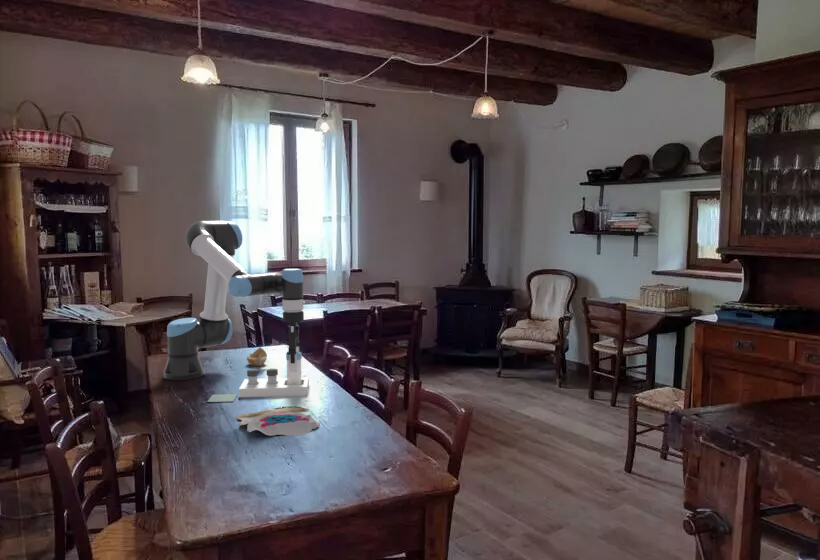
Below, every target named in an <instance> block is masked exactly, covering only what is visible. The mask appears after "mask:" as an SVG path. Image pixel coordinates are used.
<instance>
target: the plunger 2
mask: <svg viewBox="0 0 820 560" xmlns="http://www.w3.org/2000/svg"><path fill="white" fill-rule="evenodd" d="M278 371H279V370H278V368H269V369H266V376H267V378H268V385H269V384H277V378H278V377H277V376H278Z"/></svg>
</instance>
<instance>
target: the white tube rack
mask: <svg viewBox="0 0 820 560" xmlns="http://www.w3.org/2000/svg"><path fill="white" fill-rule="evenodd" d="M309 387H310V377H308V376H306V377H302V376H301V385H287V377H277V384H269V385H268V377H267V378H266V377H264V378H263V377H262V378H257V385H249V381H248V378H244V380H243V381H242V383H241V385H240V386H239V388H238V398H259V397H261V398H262V397H265V398H266V397H289V396H290V397H291V396H292V397H295V396H297V397H298V396H308V393H309V392H308V391H309Z"/></svg>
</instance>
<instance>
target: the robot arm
mask: <svg viewBox="0 0 820 560" xmlns="http://www.w3.org/2000/svg"><path fill="white" fill-rule="evenodd" d="M242 233H243V232H242V230H241V229H240V227H239V225H238V224H237V223H235V222H234V221H228V220H199V221H196V222H194V223H192V224H191V225H189V227H188V228H187V230H186V232H185V237H184V238H185V240H184V241H185V244H186V246H187V248H188V249H189V250H190V251H191V252H192V254H194V255H195V256H200V257H201V258H202V259H203V260H204V261H205V262H206V263H208V264H207V271H206V272H207V273H206V285H205V294H204V295H205V296H204V304H203V305H204V306H203V311H201V312H200V313H199V317H198V318H199V319H197V318H195V317H185V318H178V319H175V320H172V321H170V322H169V323H168V324H167V327H166V329H167V330H166V340H167V361H166V364H165V368H164V371H163V378H164V379H166V380H168V381H169V380H170V381H187V380H188V381H189V380H193V379H199V378H201V377H202V376H203V375H204V369H203V365H202V363H201V360H200V357H199V349H202V348H209V347H215V346H217V347H218V346H220V345H224V344H226V343H227V342H229V341H230V339H231V338H232V335H233V331H234V329H233V328H234V327H233V325H232V324H233V323H232V320H231V319H230V318H229V315H228V314H227V312H226V305H227V296H228V290H229V291H230V294H231V295H232V296H233V297H237V298H239V297H240V298H244V297H245V298H246V297H251V296H252V297H253V296H260V295H269V294H270V295H271V294H282V300H281V301H282V311H283V312H282V321H283V322H284V323H289V325H288V326H287V332H288V333H287V334H288V335H287V337H288V351H287V352H286V353H287V355H289V372H297V354H296V352H300V347H301V345H302V344H301V342H300V325H299V323H301V322H303V321H304V318H305V315H304V314H305V313H304V311H303V310H304V305H305V304H306V301H304V275H303V274H304V273H303V269H301V268H284V269H282V270H281V273H279V272H278V273H277V272H265V273H261V274H260V273H258V274H250V273H249V272H248V271H247V270H246V268H244V267H243V266H241V265H240V264H239V263H238V262H237V261H236V260H235V259H234V258H233V257H234V256H235V254H236V250H238V249H239V248H240V247H241V246H242V244H243V234H242Z"/></svg>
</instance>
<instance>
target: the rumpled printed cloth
mask: <svg viewBox="0 0 820 560" xmlns="http://www.w3.org/2000/svg"><path fill="white" fill-rule="evenodd" d="M281 407H282V408H281ZM281 407H279V408H274V409H266V410H264V409H263V410H261V411H258V412H257V411H256V412H257V413H256V412H251V413H247V414H245V413H244V414H239V415H238V416H236V419H238V420H240V422H239V424H238V426H239V427H240V426H245V425H246V427H247V429H246V431H247V432H248V433H251V432H254V431H259V432H261V433H262V434H264V435H266V436H270V437H271V436H276V435H281V436H287V437H289V436H290V437H291V436H296V435H297V436H298V435H305V434H308V433H310V432H311V431H312V430H313V429H314V430H315V429H317V428H318V427H319V428H320V425H321V424H320V422H318V421H317V420H315V419H314V418H313V417H312V416H311V414H308V415H307V414H304V413H309V409H308V408H305V407H303V406H281Z"/></svg>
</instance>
